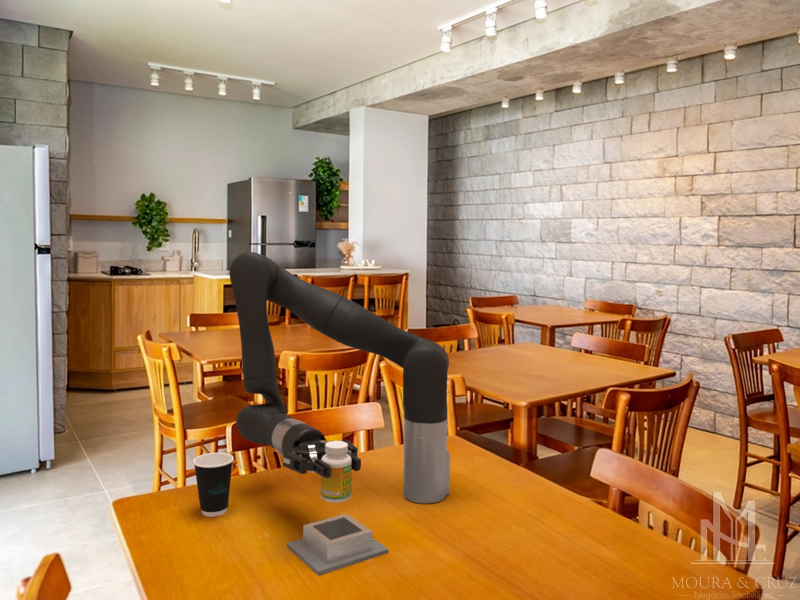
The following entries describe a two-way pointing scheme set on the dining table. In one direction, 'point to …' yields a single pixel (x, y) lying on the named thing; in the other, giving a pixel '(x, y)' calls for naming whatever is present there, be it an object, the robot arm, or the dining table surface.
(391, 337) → the robot arm
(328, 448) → the supplement bottle
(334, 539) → the socket board
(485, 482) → the dining table surface
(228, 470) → the dixie cup
